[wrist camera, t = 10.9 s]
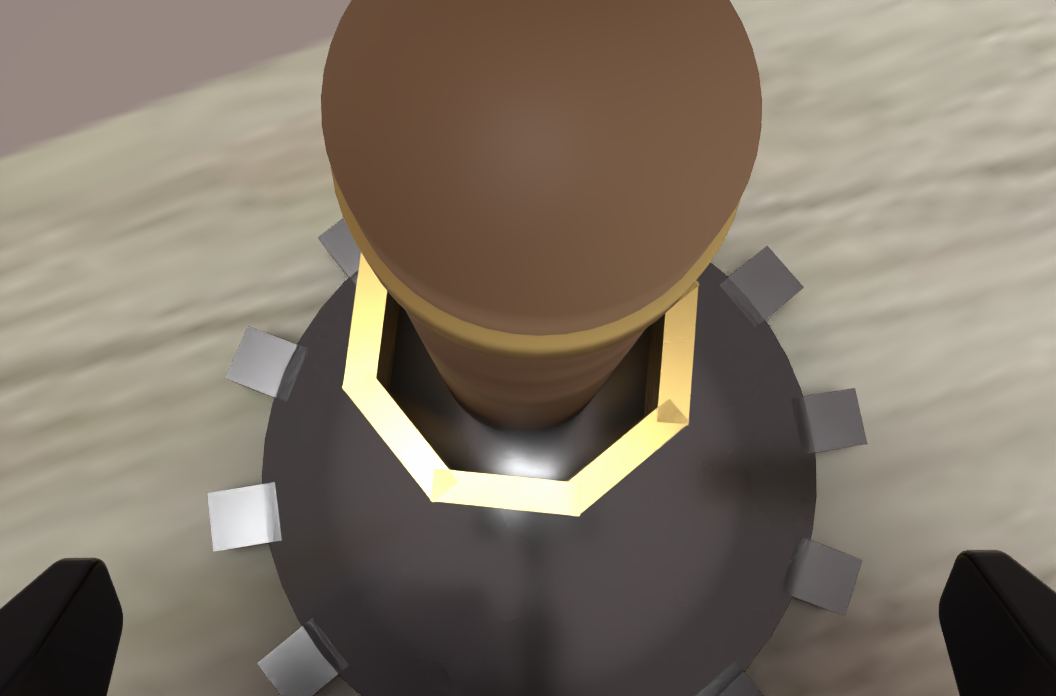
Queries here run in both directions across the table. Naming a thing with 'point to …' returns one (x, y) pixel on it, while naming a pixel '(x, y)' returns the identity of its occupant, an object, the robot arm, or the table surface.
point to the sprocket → (539, 505)
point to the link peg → (538, 178)
